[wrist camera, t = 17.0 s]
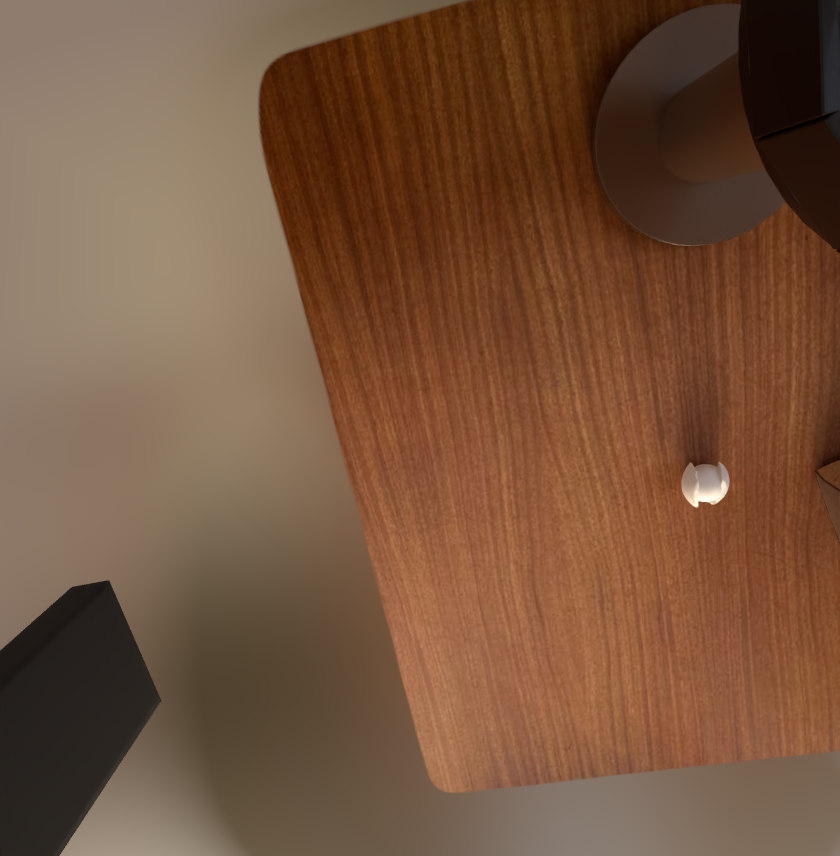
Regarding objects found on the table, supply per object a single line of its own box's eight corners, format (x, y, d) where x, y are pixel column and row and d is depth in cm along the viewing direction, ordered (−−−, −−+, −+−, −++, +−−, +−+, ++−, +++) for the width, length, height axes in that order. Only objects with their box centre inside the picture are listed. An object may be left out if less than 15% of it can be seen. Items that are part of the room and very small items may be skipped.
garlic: (685, 447, 52) (668, 493, 54) (696, 463, 49) (678, 510, 51) (743, 459, 52) (724, 505, 54) (757, 475, 49) (737, 523, 51)
